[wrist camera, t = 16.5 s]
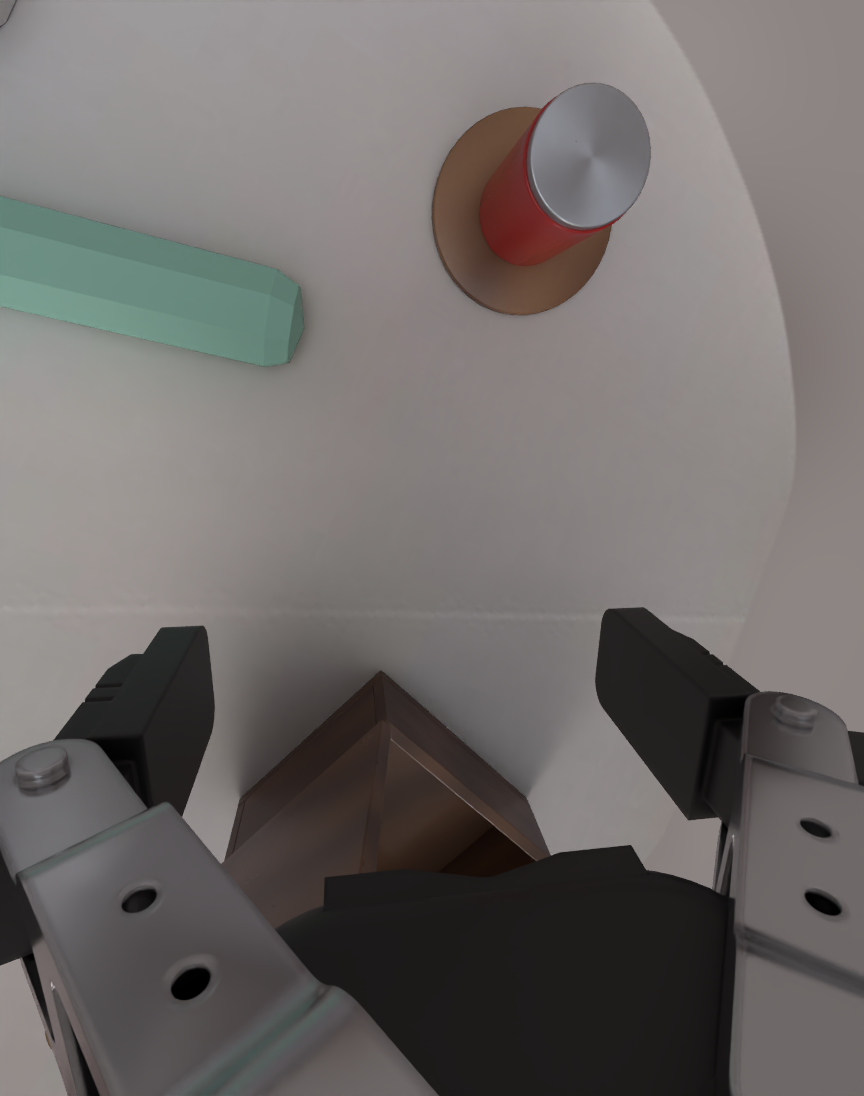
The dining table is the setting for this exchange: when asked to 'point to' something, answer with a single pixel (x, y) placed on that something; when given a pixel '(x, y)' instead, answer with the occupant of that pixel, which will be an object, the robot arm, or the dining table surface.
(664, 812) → the dining table surface
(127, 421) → the dining table surface
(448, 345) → the dining table surface
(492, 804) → the chest
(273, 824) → the lid
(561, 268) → the coaster
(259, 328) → the container
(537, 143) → the can
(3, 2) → the white short cylinder
